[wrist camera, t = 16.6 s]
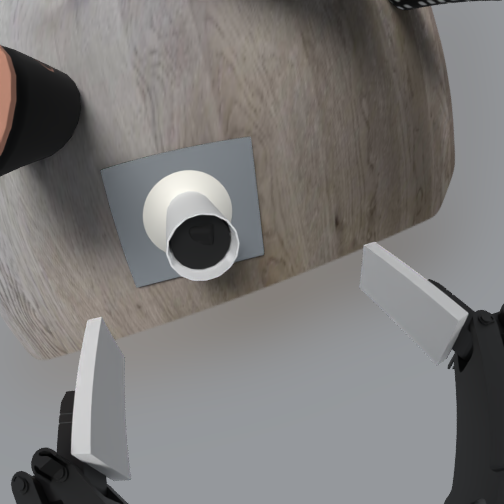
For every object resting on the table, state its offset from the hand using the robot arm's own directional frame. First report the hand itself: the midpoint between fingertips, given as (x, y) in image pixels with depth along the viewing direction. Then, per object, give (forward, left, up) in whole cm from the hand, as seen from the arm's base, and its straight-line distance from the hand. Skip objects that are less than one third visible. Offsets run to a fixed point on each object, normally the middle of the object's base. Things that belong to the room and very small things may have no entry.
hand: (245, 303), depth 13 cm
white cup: (+3, 0, -23) cm, 23 cm away
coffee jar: (-14, -16, -24) cm, 32 cm away
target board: (+3, -1, -24) cm, 24 cm away
